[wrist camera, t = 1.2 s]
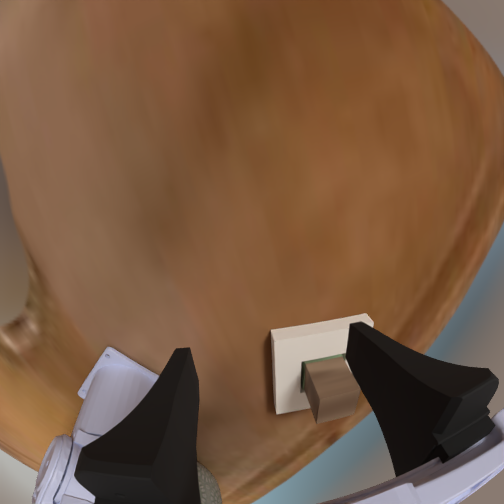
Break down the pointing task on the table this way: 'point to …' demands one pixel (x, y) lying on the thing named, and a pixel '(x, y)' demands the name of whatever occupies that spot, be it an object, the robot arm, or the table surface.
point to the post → (329, 388)
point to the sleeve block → (305, 356)
